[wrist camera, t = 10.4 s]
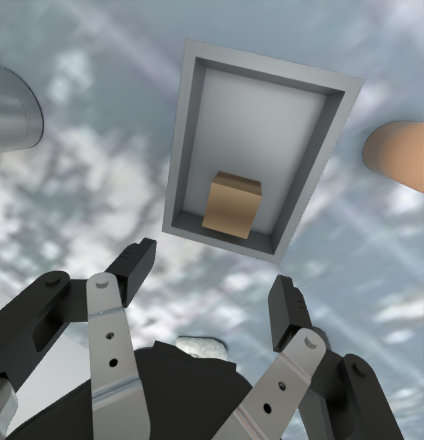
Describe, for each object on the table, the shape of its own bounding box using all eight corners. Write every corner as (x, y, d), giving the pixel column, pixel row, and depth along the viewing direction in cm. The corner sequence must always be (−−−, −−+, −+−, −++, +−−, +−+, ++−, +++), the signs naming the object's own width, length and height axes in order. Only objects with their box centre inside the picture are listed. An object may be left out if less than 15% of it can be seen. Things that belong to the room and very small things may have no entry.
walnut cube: (219, 170, 25) (212, 182, 21) (260, 181, 25) (262, 196, 20) (210, 208, 27) (201, 226, 23) (247, 218, 27) (246, 238, 23)
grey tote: (175, 214, 29) (161, 231, 25) (199, 54, 21) (185, 38, 17) (275, 241, 29) (279, 264, 24) (341, 87, 20) (365, 79, 16)
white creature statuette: (175, 336, 41) (148, 413, 31) (212, 324, 38) (196, 406, 27) (203, 365, 44) (187, 445, 33) (239, 357, 41) (234, 443, 30)
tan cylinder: (353, 165, 23) (389, 184, 17) (379, 115, 21) (433, 115, 15) (400, 177, 23) (455, 200, 17) (432, 128, 20) (509, 133, 14)
